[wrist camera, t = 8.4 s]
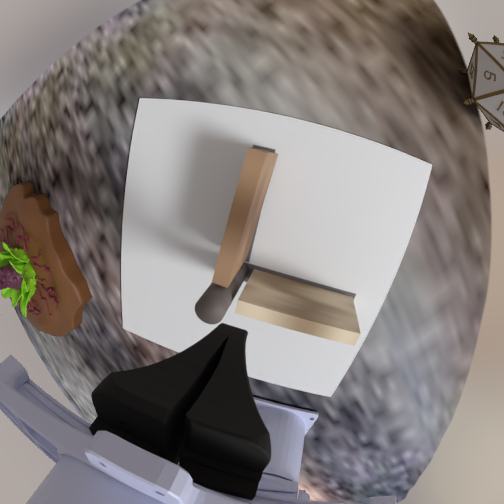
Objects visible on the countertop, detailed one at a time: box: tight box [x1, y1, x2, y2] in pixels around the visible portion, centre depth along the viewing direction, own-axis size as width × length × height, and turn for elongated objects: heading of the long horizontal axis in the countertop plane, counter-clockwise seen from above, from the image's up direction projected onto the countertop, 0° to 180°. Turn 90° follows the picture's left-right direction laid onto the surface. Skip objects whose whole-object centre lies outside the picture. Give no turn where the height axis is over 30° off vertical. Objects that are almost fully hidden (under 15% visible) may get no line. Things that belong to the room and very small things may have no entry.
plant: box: [0, 182, 92, 336], centre depth 24 cm, size 20×20×11 cm
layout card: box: [121, 98, 432, 397], centre depth 22 cm, size 23×23×1 cm
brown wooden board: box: [212, 147, 278, 288], centre depth 17 cm, size 8×1×5 cm, turn 164°
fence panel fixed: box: [195, 263, 361, 346], centre depth 18 cm, size 10×2×6 cm, turn 78°
